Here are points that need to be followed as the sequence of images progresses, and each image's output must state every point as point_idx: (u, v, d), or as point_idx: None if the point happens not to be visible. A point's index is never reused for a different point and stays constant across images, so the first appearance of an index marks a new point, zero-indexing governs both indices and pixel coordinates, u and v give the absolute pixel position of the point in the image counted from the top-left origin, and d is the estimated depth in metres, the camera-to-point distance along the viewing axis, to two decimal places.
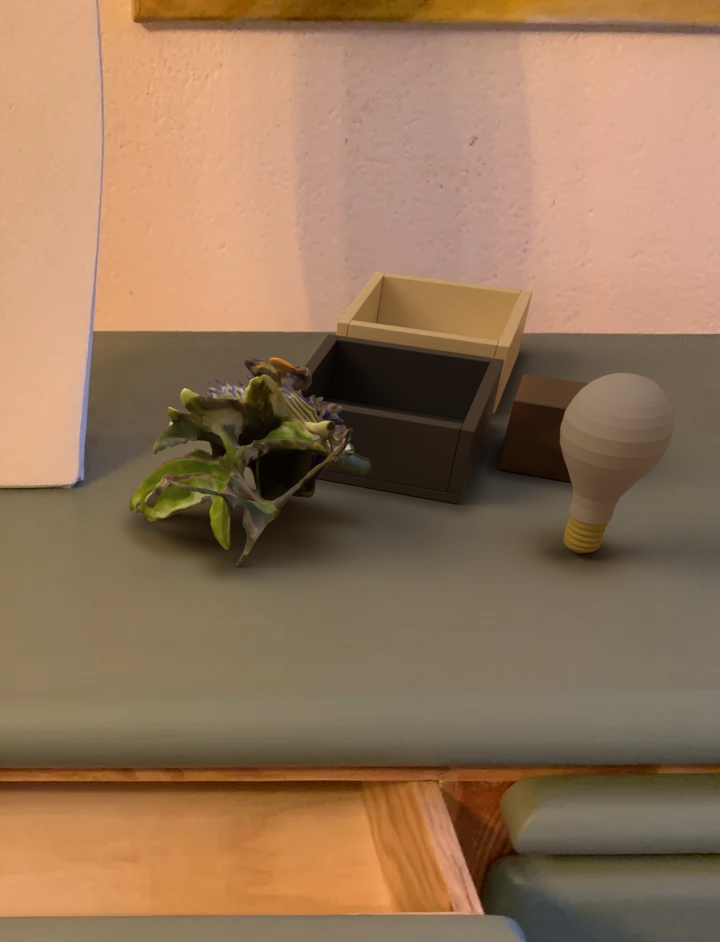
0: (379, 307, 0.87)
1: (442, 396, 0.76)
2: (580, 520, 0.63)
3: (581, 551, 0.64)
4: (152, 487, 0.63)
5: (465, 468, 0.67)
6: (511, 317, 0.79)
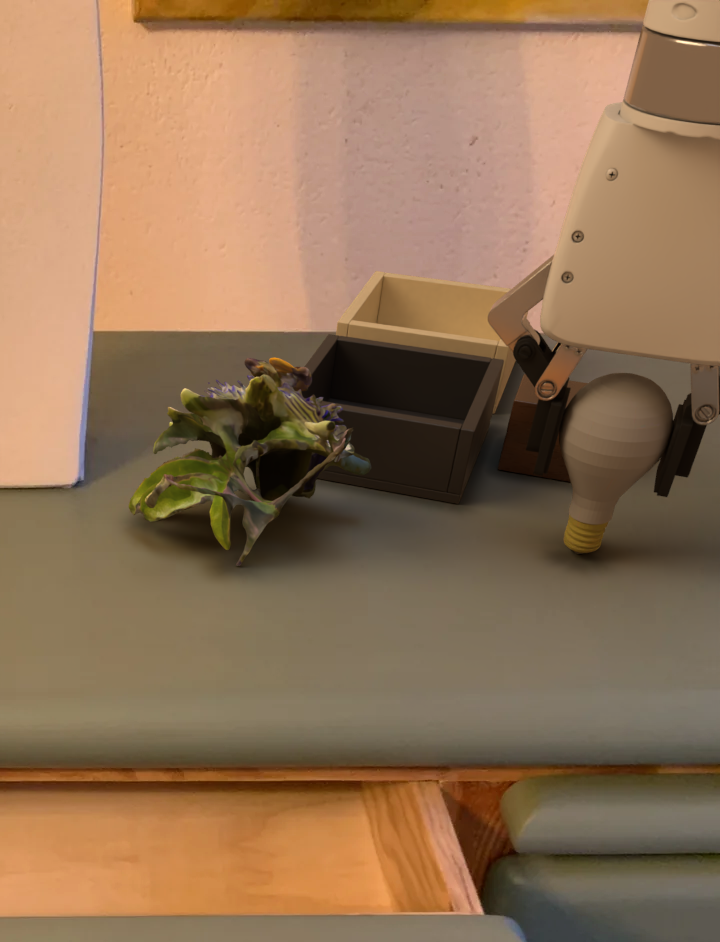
0: (379, 307, 0.87)
1: (442, 396, 0.76)
2: (580, 520, 0.63)
3: (581, 551, 0.64)
4: (152, 487, 0.63)
5: (465, 468, 0.67)
6: None
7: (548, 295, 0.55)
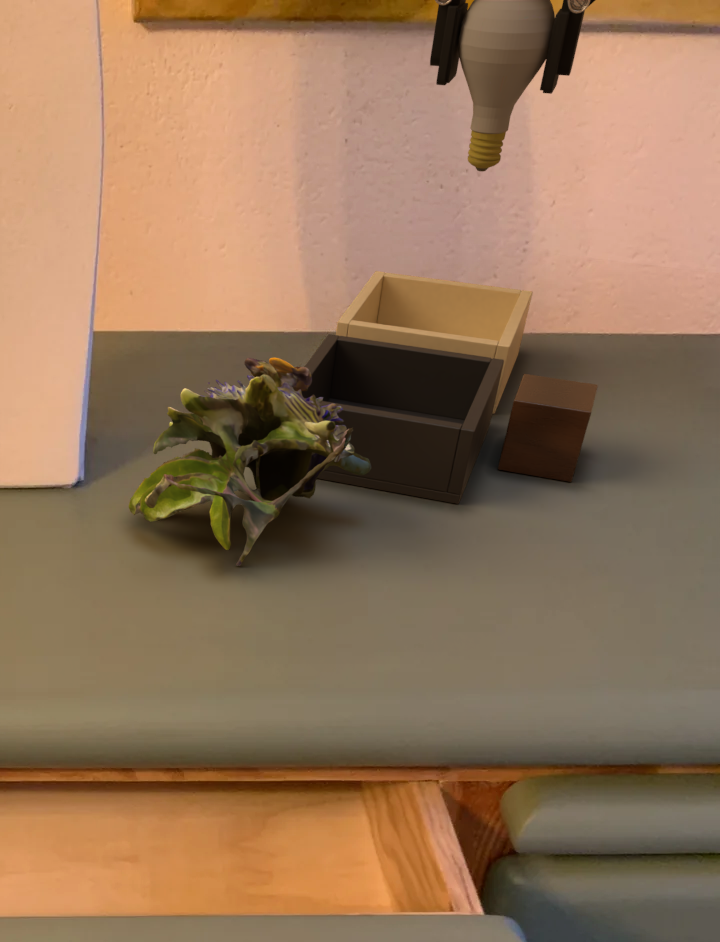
0: (379, 307, 0.87)
1: (442, 396, 0.76)
2: (479, 131, 0.71)
3: (482, 164, 0.72)
4: (152, 487, 0.63)
5: (465, 468, 0.67)
6: (511, 317, 0.79)
7: None
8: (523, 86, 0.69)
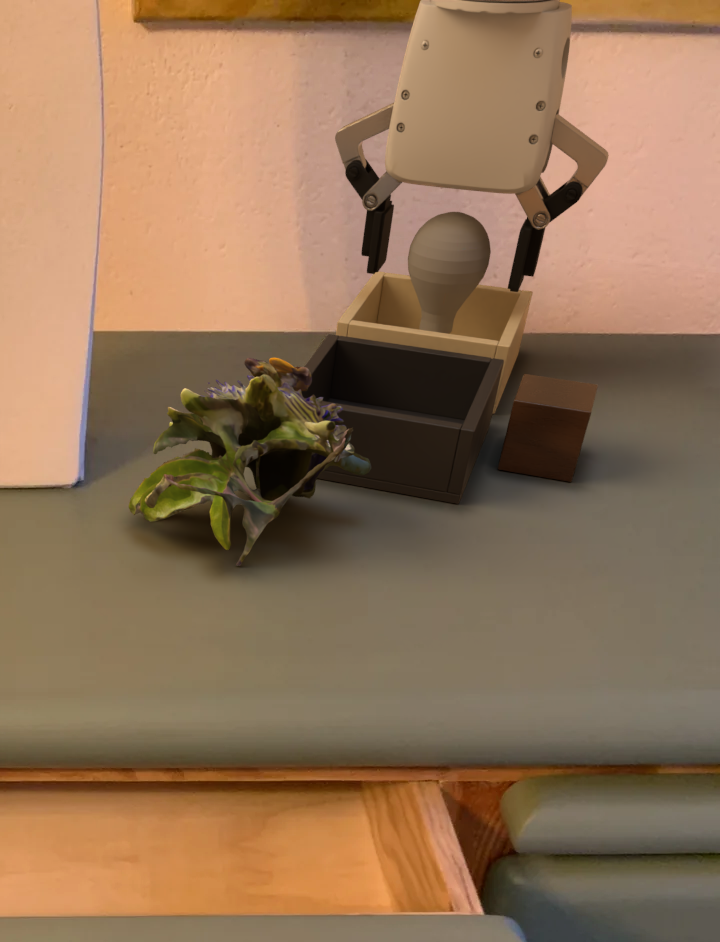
0: (379, 307, 0.87)
1: (442, 396, 0.76)
2: None
3: None
4: (152, 487, 0.63)
5: (465, 468, 0.67)
6: (511, 317, 0.79)
7: (388, 143, 0.74)
8: (463, 299, 0.80)
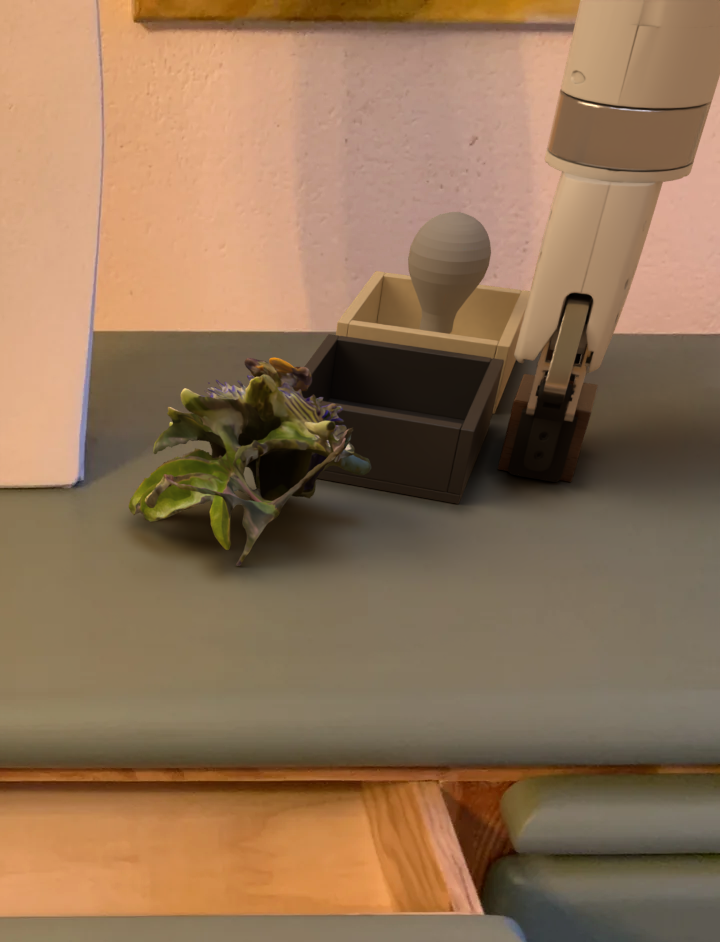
0: (379, 307, 0.87)
1: (442, 396, 0.76)
2: None
3: None
4: (152, 487, 0.63)
5: (465, 468, 0.67)
6: (511, 317, 0.79)
7: (605, 340, 0.63)
8: (463, 299, 0.80)
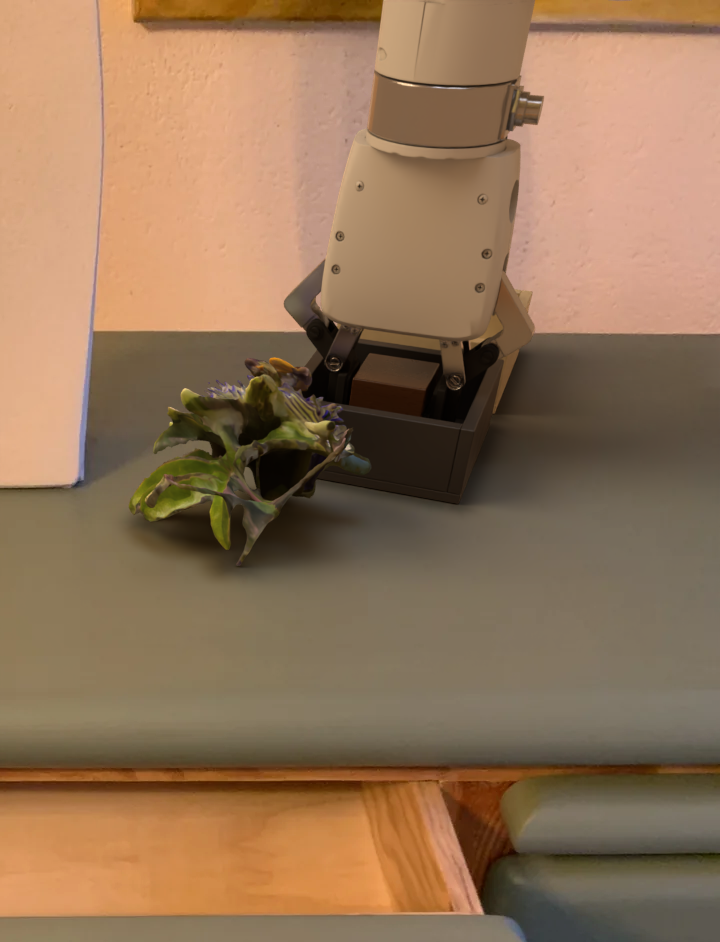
0: None
1: None
2: None
3: None
4: (152, 487, 0.63)
5: (465, 468, 0.67)
6: None
7: (323, 284, 0.68)
8: None
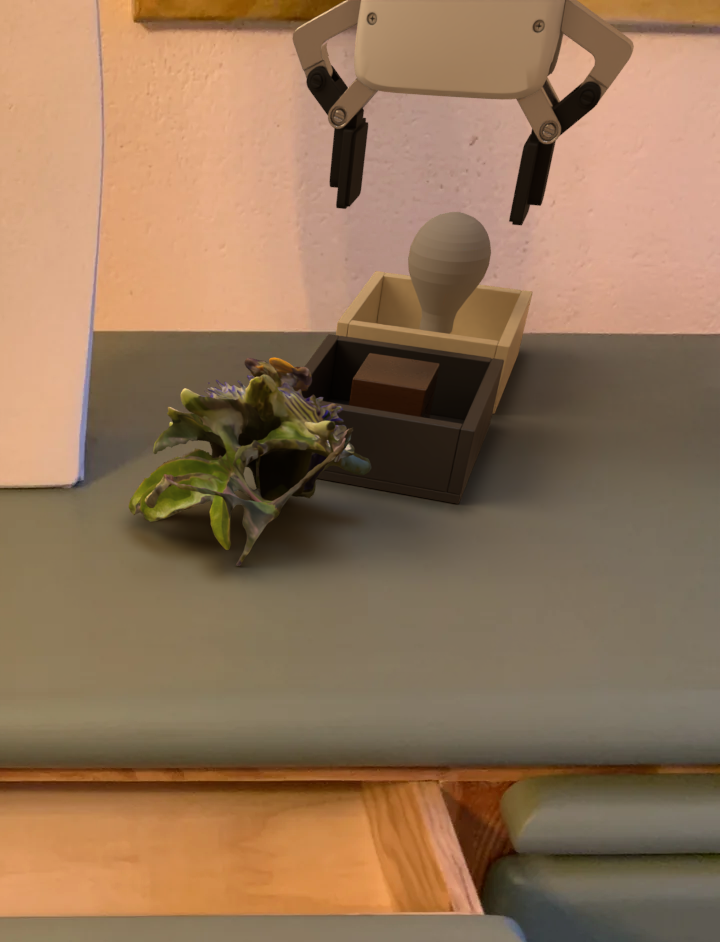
0: (379, 307, 0.87)
1: (442, 396, 0.76)
2: None
3: None
4: (152, 487, 0.63)
5: (465, 468, 0.67)
6: (511, 317, 0.79)
7: (357, 40, 0.60)
8: (463, 299, 0.80)
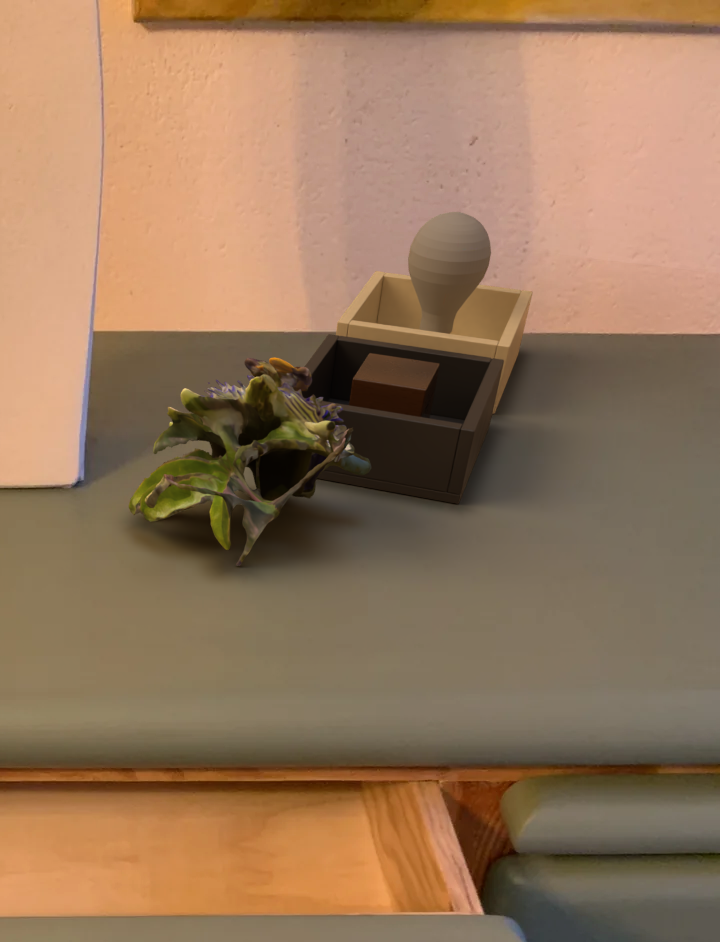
0: (379, 307, 0.87)
1: (442, 396, 0.76)
2: None
3: None
4: (152, 487, 0.63)
5: (465, 468, 0.67)
6: (511, 317, 0.79)
7: None
8: (463, 299, 0.80)
